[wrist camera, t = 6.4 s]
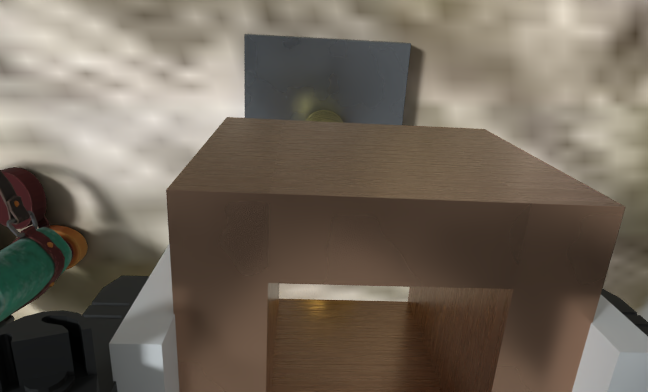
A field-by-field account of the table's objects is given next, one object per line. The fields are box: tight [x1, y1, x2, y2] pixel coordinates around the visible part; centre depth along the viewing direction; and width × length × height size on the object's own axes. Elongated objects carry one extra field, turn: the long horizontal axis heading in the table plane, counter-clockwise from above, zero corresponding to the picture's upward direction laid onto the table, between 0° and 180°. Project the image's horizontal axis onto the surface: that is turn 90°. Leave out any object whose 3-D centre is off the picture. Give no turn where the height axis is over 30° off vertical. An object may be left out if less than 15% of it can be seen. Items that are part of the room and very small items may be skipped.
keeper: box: [245, 34, 411, 125], centre depth 22 cm, size 10×9×12 cm
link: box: [166, 117, 625, 392], centre depth 11 cm, size 7×7×6 cm
